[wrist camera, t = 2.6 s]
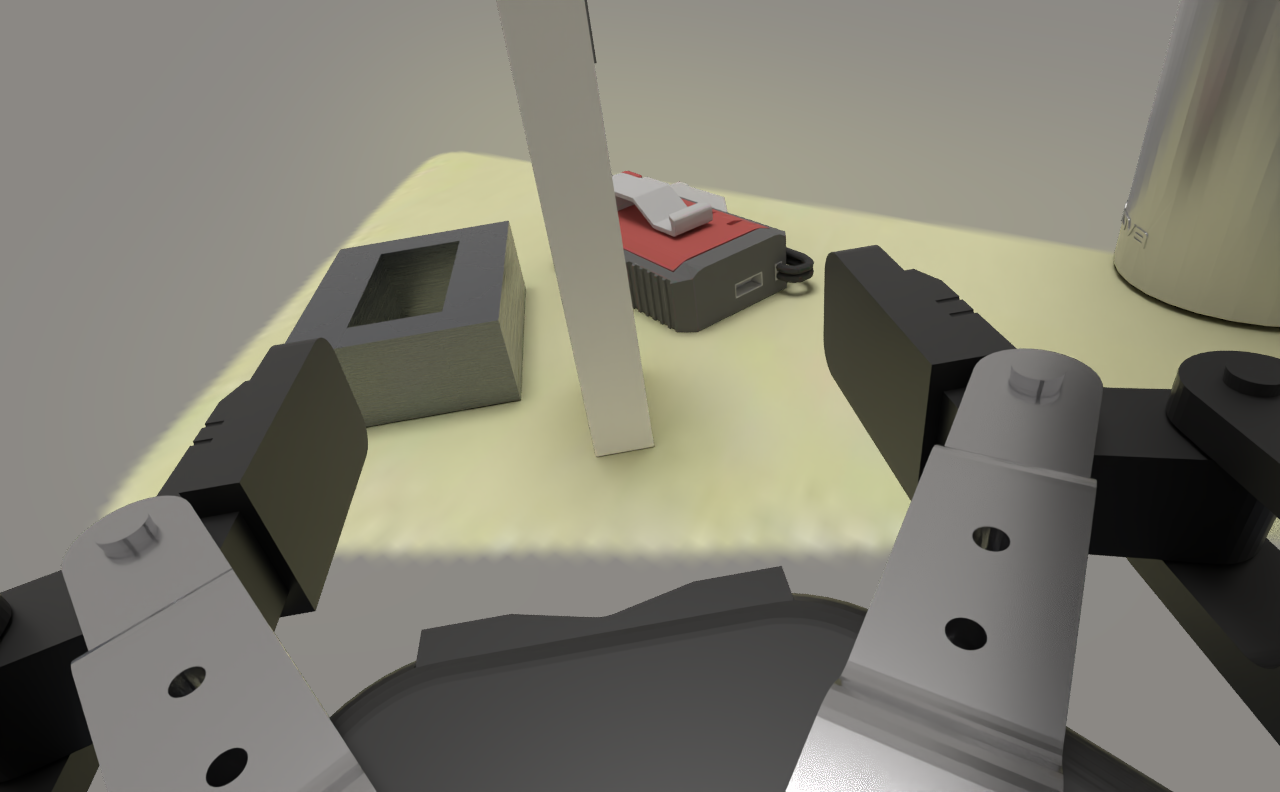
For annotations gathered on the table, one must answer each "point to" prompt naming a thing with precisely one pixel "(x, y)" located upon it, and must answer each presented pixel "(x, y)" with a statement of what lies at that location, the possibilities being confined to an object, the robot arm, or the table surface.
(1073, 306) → the table surface
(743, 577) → the robot arm
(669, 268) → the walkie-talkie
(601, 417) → the white tall block
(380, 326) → the holder
